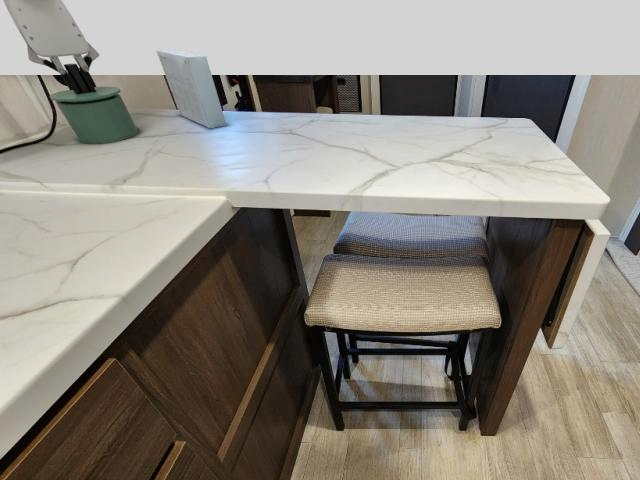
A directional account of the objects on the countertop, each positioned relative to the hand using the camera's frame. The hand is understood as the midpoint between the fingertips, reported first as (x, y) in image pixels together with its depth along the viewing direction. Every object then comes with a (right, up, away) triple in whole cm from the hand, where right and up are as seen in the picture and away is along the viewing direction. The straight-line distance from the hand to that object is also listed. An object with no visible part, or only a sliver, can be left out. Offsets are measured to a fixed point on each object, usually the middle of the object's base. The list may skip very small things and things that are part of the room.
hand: (85, 91), depth 78 cm
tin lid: (0, -1, 0) cm, 1 cm away
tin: (0, -7, +7) cm, 10 cm away
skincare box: (+18, +3, +18) cm, 25 cm away
